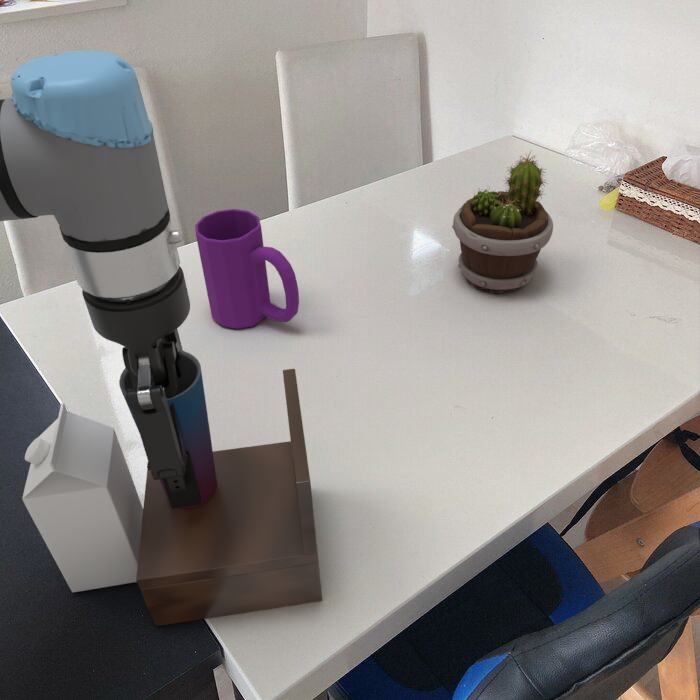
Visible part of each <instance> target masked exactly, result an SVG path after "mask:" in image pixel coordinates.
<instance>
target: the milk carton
mask: <svg viewBox="0 0 700 700" xmlns="http://www.w3.org/2000/svg"><path fill="white" fill-rule="evenodd" d="M58 412H59V413H58V415H57V416H58V417H57V418H56V419H55V420H54V421H53V422H52V424H51V425H49V426H48V427H47V428H46V429H45V430H44V431H43V432H42V433H41V434H40V435H39V436H38V437H36V438H35V439H34V440H33V441H32V442H31V443H30V444H29V446H28V447H27V449H26V451H25V454H24V460H25V461H26V462H28V463H30V465H29V468H28V469H29V470H28V473H27V476H26V477H27V478H26V481H25V485H24V489H23V494H22V502H23V504H24V506H25V508H26V510H27V512H28V514H29V515H30V517H31V519H32V521H33V523H34V524H35V526H36V528H37V530H38V532H39V535H40V536H41V537H42V540H43V541H44V543H45V545H46V547H47V549H48V550H49V552H50V554H51V556H52V558H53V560H54V561H55V563H56V565H57V567H58V569H59V572H61V574H62V577H63V578H64V580H65V582H66V584H67V586H68V587H69V589H70V591H71V592H72V593H79V592H84V591H91V590H97V589H103V588H109V587H115V586H121V585H127V584H133V583H137V581H136V577H137V567H138V557H139V547H140V537H141V527H142V517H143V508H144V506H143V505H142V502H141V498H140V497H139V494H138V491H137V489H136V485H135V483H134V480H133V477H132V474H131V471H130V469H129V466H128V463H127V460H126V458H125V455H124V452H123V450H122V449H123V448H122V446H121V444H120V441H119V439H118V436H117V433H116V431H115V427H112V426H110V425H107V424H105V423H102V422H99V421H96V420H93V419H91V418H88V417H85V416H83V415H79V414H76V413H75V412H71V411H70V410H69V411H68V409H67V407H66V405H65V402H61V403H60V406H59V411H58Z"/></svg>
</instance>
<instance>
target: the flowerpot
mask: <svg viewBox="0 0 700 700" xmlns="http://www.w3.org/2000/svg"><path fill="white" fill-rule="evenodd" d="M532 151H533V150H530V152H529V154H528V155H527V153H526V152H525V156H526V158H525V157H523V156H522V155H519V159H520V160H519V159H517V160H515V162H514V164H515V166H514V164H513V163H512V164H511V165H510V167H506V168H507V170H506V171H505V172H509V173H507V175H506V176H505V177H504V178H505V179H504V180H503V179H502V181H504V182H505V183H504V186H503V187H504V188H508V189H505V190H503V191H502V190H499V191H495V190H491V189H490V188H491V187H490V185H489V186H486V188H485V189H484V188H482V190H481V188H478V190H477V193H473V197H471V198H469V199H467V200H466V201H465V202H464V203H463V205H461V206H460V207H459V208H458V210H457V211H456V212H455V214H454V216H453V220H452V226H451V228H452V229H453V231H454V234H455V236H456V237H457V239H458V240H459V245H460V251H461V252H460V254H459V256H458V265H457V267H458V269H460V272H461V274H462V276H463V277H464V278H465V280H466V281H467V283H469V284H470V285H472V286H473V287H474V288H476V289H478V290H485V289H488V290H489V291H490V293H492V294H499V293H505V294H507V293H513V292H515V291H519V290H521V289H522V288H524V286H525V285H527V284H528V283H529V282H531V280H532V278H533V277H534V275H535V273H536V270H537V268H538V260H537V259H538V257H539V254H540V253H541V250H542V249H543V248H545V246H547V244H548V243H549V242H550V240H551V238H552V235H553V231H554V221H553V219H552V217H551V216H550V213H548V212H547V211H546V209H545V207H544V206H543V204H542V203H541V202H540V201H541V200H543V197H542V196H546V195H547V194H546V193H544V190H542V189H543V187H545V184H547V185H549V183H547V180H546V177H544V174H546V168H543V167H541V164H539V163H540V162H539V161H537V160H535V158H536V157H537V156H536V154H534V155H532V156H531V153H532ZM530 156H531V157H530ZM529 157H530V158H529ZM544 178H545V179H544ZM540 188H541V189H540ZM490 190H491V191H490ZM473 192H475V189H474V191H473Z"/></svg>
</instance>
